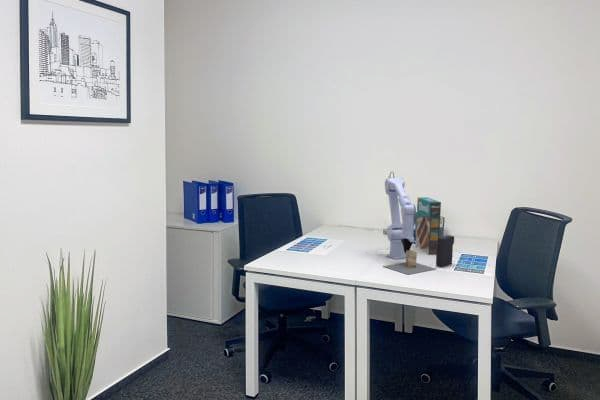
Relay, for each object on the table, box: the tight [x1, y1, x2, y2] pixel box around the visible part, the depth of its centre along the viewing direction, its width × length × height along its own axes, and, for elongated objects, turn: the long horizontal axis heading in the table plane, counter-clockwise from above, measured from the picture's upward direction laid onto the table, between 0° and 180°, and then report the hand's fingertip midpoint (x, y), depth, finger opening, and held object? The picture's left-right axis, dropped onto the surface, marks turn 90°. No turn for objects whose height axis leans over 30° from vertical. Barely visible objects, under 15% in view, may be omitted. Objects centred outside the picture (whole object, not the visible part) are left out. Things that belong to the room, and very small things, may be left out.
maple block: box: [405, 249, 418, 268], centre depth 266 cm, size 4×4×8 cm
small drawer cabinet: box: [435, 234, 455, 268], centre depth 270 cm, size 11×4×15 cm, turn 134°
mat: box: [382, 261, 437, 276], centre depth 265 cm, size 20×18×1 cm
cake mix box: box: [415, 196, 442, 256], centre depth 303 cm, size 22×6×30 cm, turn 6°
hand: (406, 252), depth 272 cm, fingers closed
